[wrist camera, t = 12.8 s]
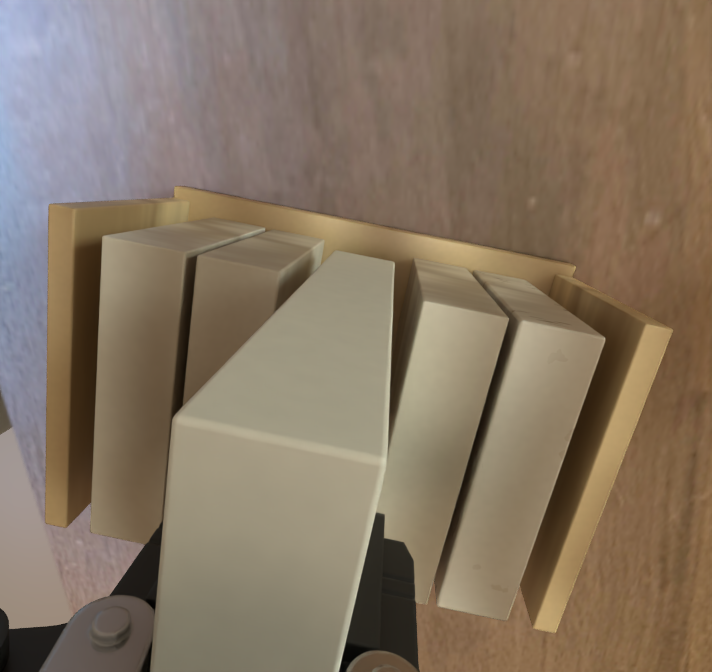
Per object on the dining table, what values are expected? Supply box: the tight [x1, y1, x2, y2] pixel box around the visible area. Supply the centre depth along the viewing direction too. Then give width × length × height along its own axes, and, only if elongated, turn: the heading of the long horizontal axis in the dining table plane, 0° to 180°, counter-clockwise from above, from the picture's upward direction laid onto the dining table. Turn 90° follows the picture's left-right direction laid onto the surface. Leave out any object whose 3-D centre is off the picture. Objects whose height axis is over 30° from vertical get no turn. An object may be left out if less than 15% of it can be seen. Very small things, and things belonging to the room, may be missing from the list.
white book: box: [150, 250, 395, 672], centre depth 14 cm, size 2×10×15 cm, turn 170°
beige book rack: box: [45, 186, 673, 633], centre depth 20 cm, size 18×12×10 cm, turn 79°
